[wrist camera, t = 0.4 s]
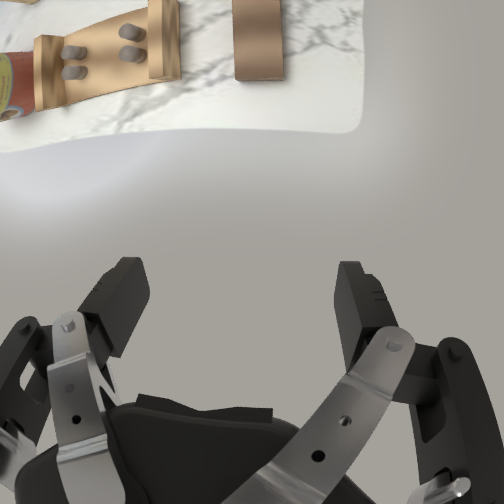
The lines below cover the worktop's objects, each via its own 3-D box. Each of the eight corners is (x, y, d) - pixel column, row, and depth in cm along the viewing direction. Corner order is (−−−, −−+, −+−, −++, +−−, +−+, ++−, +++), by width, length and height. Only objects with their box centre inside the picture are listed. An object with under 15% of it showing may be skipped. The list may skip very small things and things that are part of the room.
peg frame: (60, 41, 25) (34, 39, 20) (179, 2, 24) (162, -12, 19) (62, 106, 31) (35, 112, 26) (180, 78, 29) (163, 76, 24)
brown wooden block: (236, -11, 23) (231, -22, 20) (278, -13, 23) (278, -24, 19) (239, 81, 30) (235, 79, 26) (282, 80, 29) (283, 77, 26)
